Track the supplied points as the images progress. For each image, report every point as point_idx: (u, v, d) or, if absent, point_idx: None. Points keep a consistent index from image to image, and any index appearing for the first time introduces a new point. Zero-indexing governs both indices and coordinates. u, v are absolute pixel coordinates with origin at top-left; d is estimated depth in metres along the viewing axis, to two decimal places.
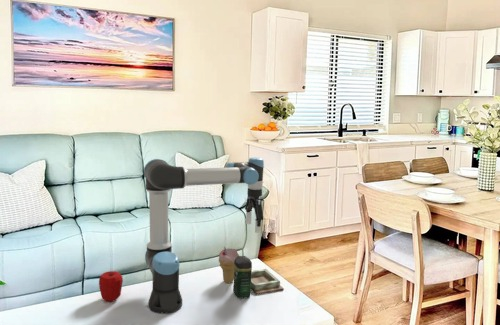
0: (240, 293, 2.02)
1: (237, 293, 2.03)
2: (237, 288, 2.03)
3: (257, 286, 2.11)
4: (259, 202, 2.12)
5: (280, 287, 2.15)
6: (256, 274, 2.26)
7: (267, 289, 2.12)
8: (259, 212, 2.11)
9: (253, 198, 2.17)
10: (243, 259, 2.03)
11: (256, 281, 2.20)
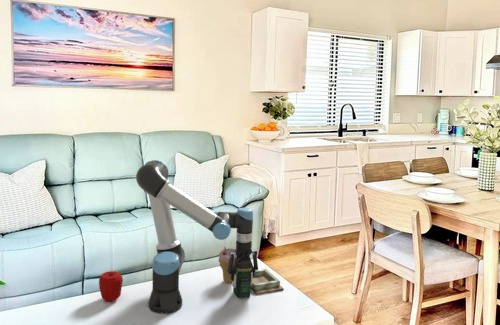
0: (240, 293, 2.02)
1: (237, 293, 2.03)
2: (237, 288, 2.03)
3: (257, 286, 2.11)
4: (230, 255, 2.01)
5: (280, 287, 2.15)
6: (256, 274, 2.26)
7: (267, 289, 2.12)
8: (229, 265, 2.02)
9: None
10: (243, 259, 2.03)
11: (256, 281, 2.20)
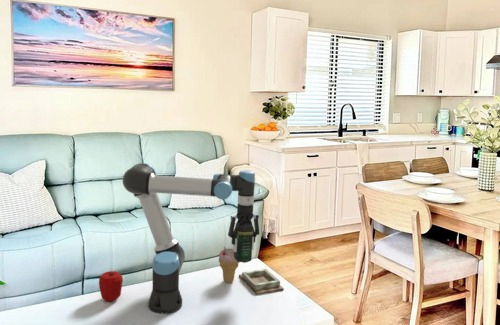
0: (241, 257, 1.99)
1: (238, 257, 2.00)
2: (238, 252, 2.00)
3: (257, 286, 2.11)
4: (231, 218, 1.98)
5: (280, 287, 2.15)
6: (256, 274, 2.26)
7: (267, 289, 2.12)
8: (229, 228, 2.00)
9: None
10: (244, 223, 2.00)
11: (256, 281, 2.20)
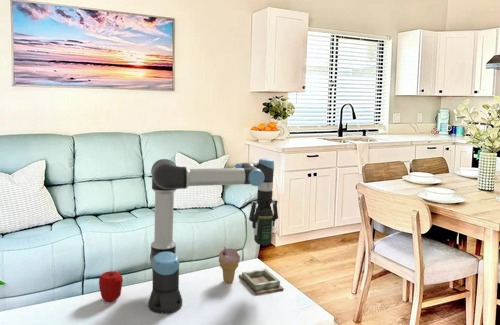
0: (261, 240, 2.12)
1: (258, 240, 2.12)
2: (258, 235, 2.12)
3: (257, 286, 2.11)
4: (252, 204, 2.11)
5: (280, 287, 2.15)
6: (256, 274, 2.26)
7: (267, 289, 2.12)
8: (250, 213, 2.12)
9: None
10: None
11: (256, 281, 2.20)
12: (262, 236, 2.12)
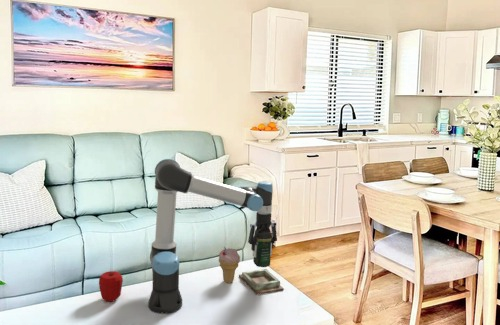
0: (260, 262, 2.14)
1: (258, 262, 2.14)
2: (258, 257, 2.14)
3: (257, 286, 2.11)
4: (251, 226, 2.13)
5: (280, 287, 2.15)
6: (256, 274, 2.26)
7: (267, 289, 2.12)
8: (249, 236, 2.14)
9: None
10: (263, 230, 2.15)
11: (256, 281, 2.20)
12: (261, 258, 2.14)
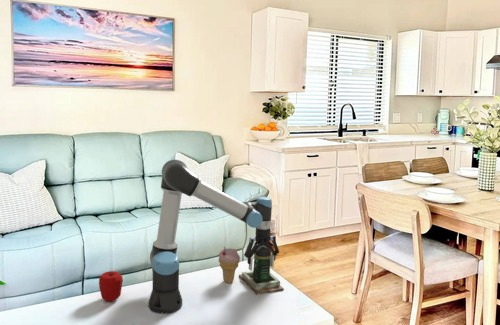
0: (260, 280, 2.15)
1: (257, 280, 2.16)
2: (257, 275, 2.16)
3: (257, 286, 2.11)
4: (250, 240, 2.14)
5: (280, 287, 2.15)
6: None
7: (267, 289, 2.12)
8: (247, 249, 2.14)
9: None
10: (263, 248, 2.16)
11: None
12: (261, 276, 2.15)
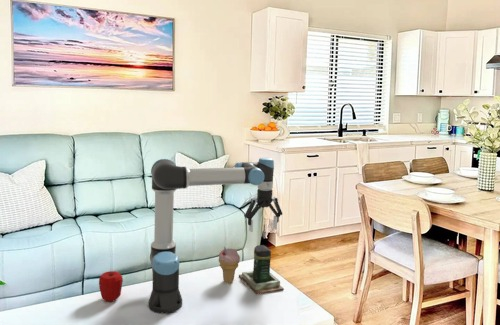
0: (260, 280, 2.15)
1: (257, 280, 2.16)
2: (257, 275, 2.16)
3: (257, 286, 2.11)
4: (252, 201, 2.10)
5: (280, 287, 2.15)
6: None
7: (267, 289, 2.12)
8: (247, 210, 2.11)
9: None
10: (263, 248, 2.16)
11: None
12: (261, 276, 2.15)
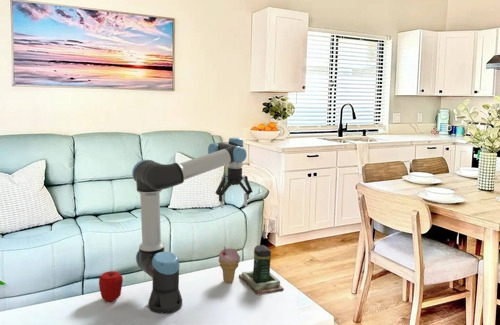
0: (260, 280, 2.15)
1: (257, 280, 2.16)
2: (257, 275, 2.16)
3: (257, 286, 2.11)
4: (222, 178, 2.21)
5: (280, 287, 2.15)
6: None
7: (267, 289, 2.12)
8: (218, 187, 2.22)
9: None
10: (263, 248, 2.16)
11: None
12: (261, 276, 2.15)
